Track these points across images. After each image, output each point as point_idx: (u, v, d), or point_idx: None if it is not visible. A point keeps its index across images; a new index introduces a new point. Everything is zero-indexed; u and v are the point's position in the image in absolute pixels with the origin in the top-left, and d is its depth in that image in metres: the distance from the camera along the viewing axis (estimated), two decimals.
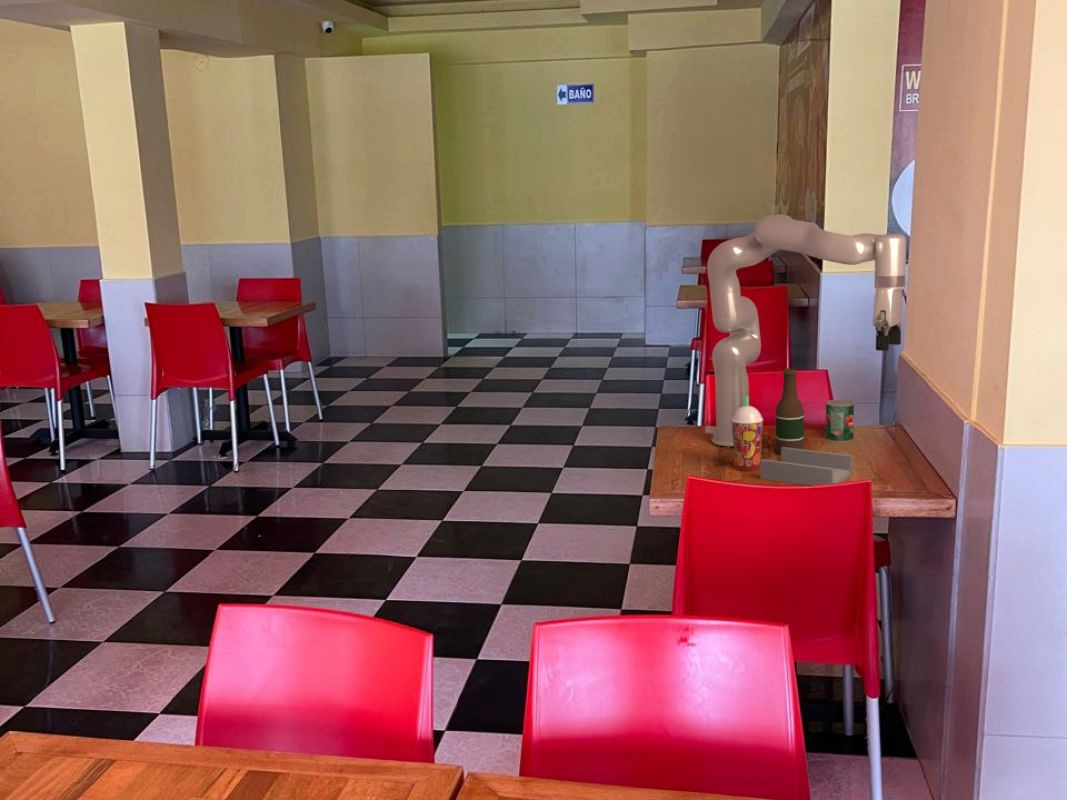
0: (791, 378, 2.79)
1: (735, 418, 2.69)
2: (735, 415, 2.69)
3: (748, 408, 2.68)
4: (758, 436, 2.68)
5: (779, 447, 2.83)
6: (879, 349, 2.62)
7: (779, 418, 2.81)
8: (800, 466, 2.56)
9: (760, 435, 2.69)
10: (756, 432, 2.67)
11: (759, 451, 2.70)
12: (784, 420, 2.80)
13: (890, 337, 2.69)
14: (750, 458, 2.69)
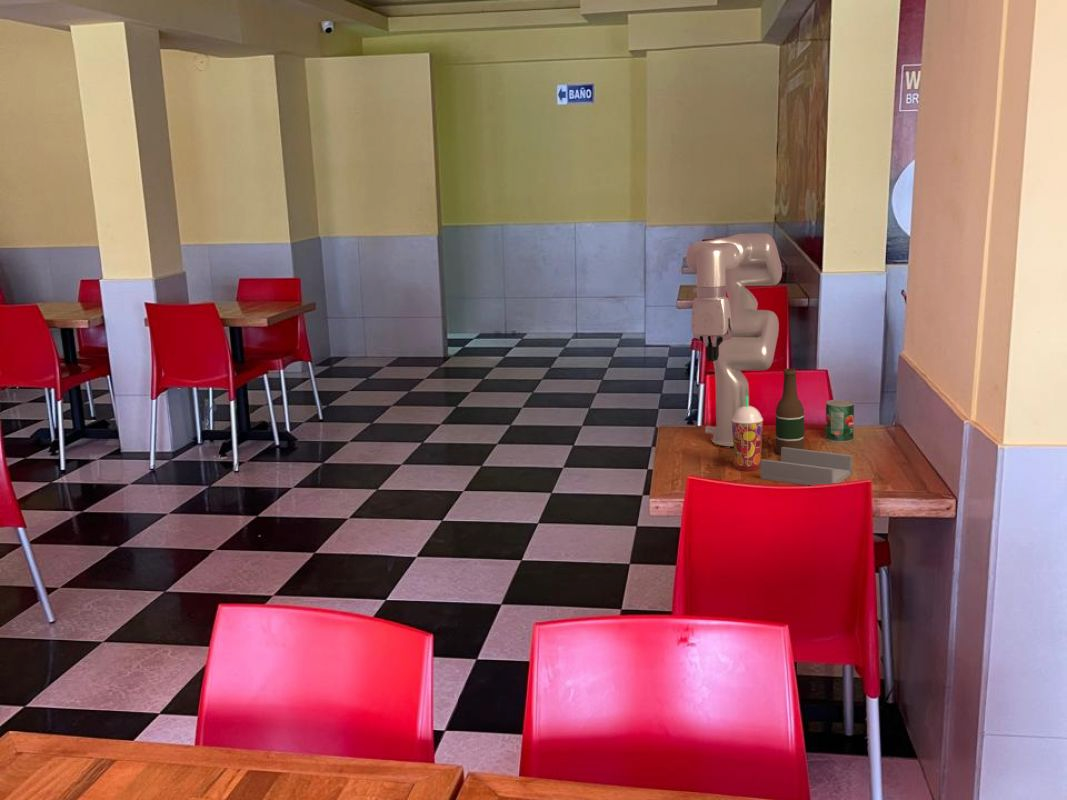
0: (791, 378, 2.79)
1: (735, 418, 2.69)
2: (735, 415, 2.69)
3: (748, 408, 2.68)
4: (758, 436, 2.68)
5: (779, 447, 2.83)
6: (714, 360, 2.72)
7: (779, 418, 2.81)
8: (800, 466, 2.56)
9: (760, 435, 2.69)
10: (756, 432, 2.67)
11: (759, 451, 2.70)
12: (784, 420, 2.80)
13: None
14: (750, 458, 2.69)
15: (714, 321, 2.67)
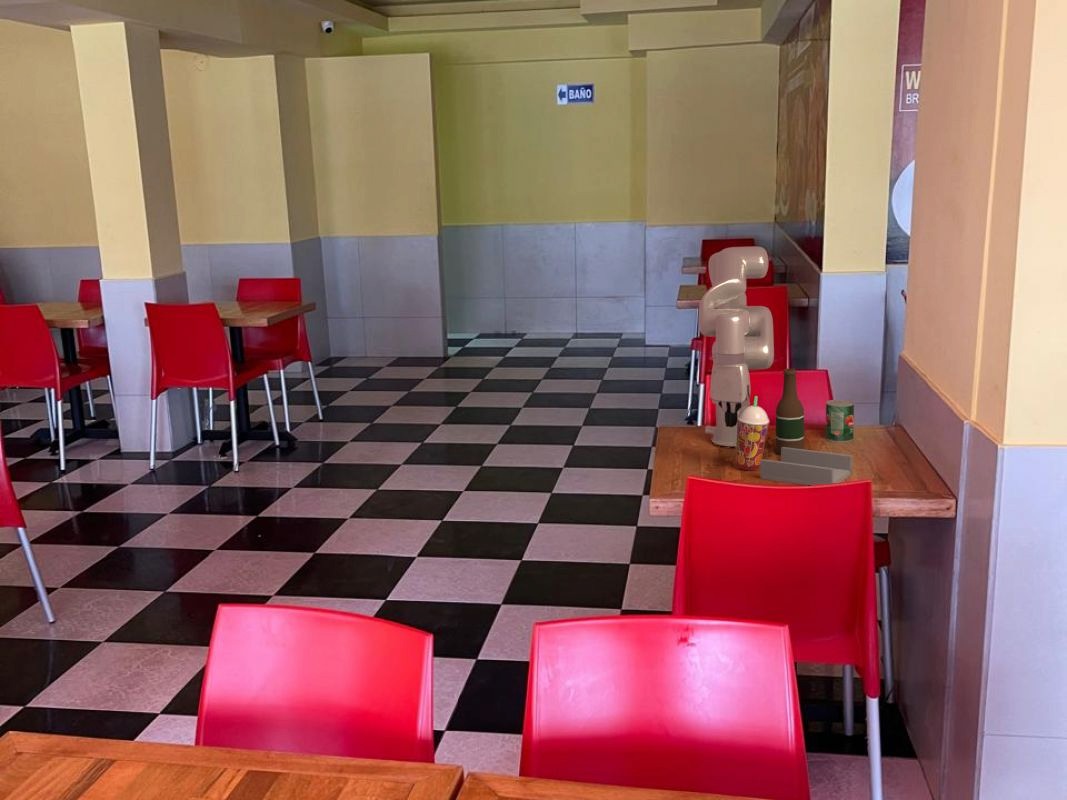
0: (791, 378, 2.79)
1: (742, 417, 2.67)
2: (742, 414, 2.67)
3: (756, 409, 2.66)
4: (762, 437, 2.67)
5: (779, 447, 2.83)
6: (732, 425, 2.72)
7: (779, 418, 2.81)
8: (800, 466, 2.56)
9: (764, 436, 2.68)
10: (761, 434, 2.66)
11: (762, 452, 2.69)
12: (784, 420, 2.80)
13: None
14: (752, 458, 2.68)
15: (733, 388, 2.67)
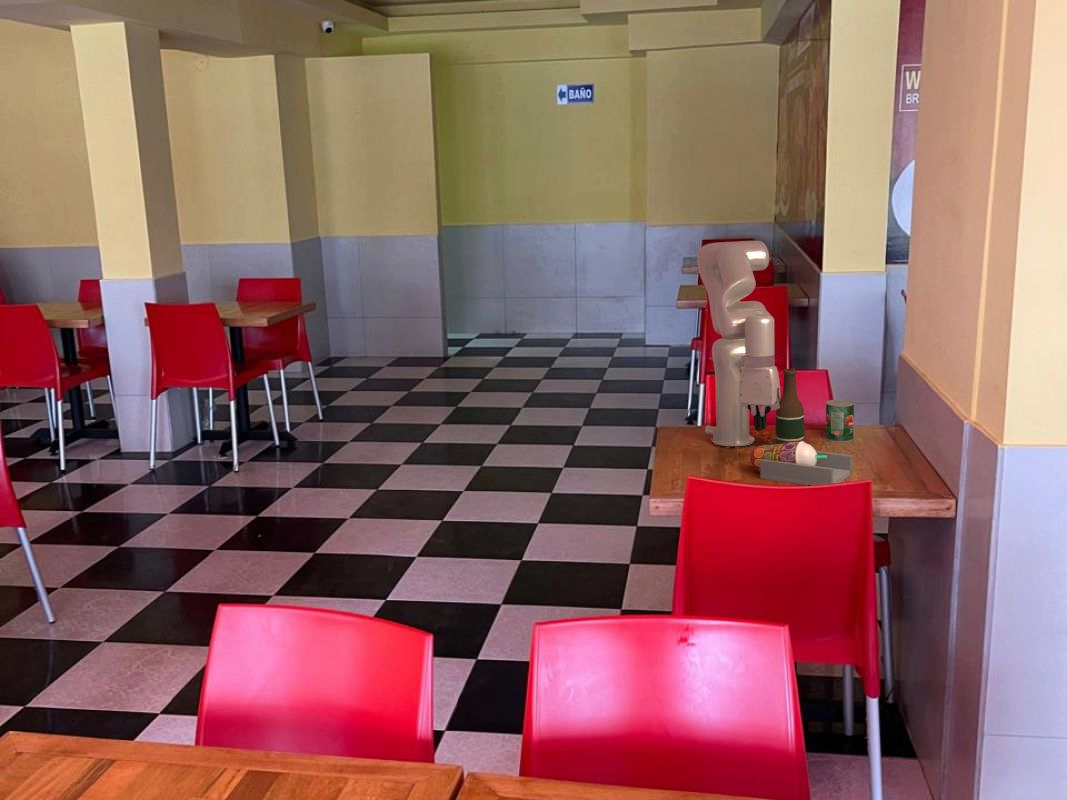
0: (791, 378, 2.79)
1: (799, 457, 2.58)
2: (802, 455, 2.58)
3: (814, 462, 2.59)
4: None
5: None
6: (761, 429, 2.67)
7: (779, 418, 2.81)
8: (800, 466, 2.56)
9: None
10: None
11: None
12: (784, 420, 2.80)
13: None
14: None
15: (763, 391, 2.62)
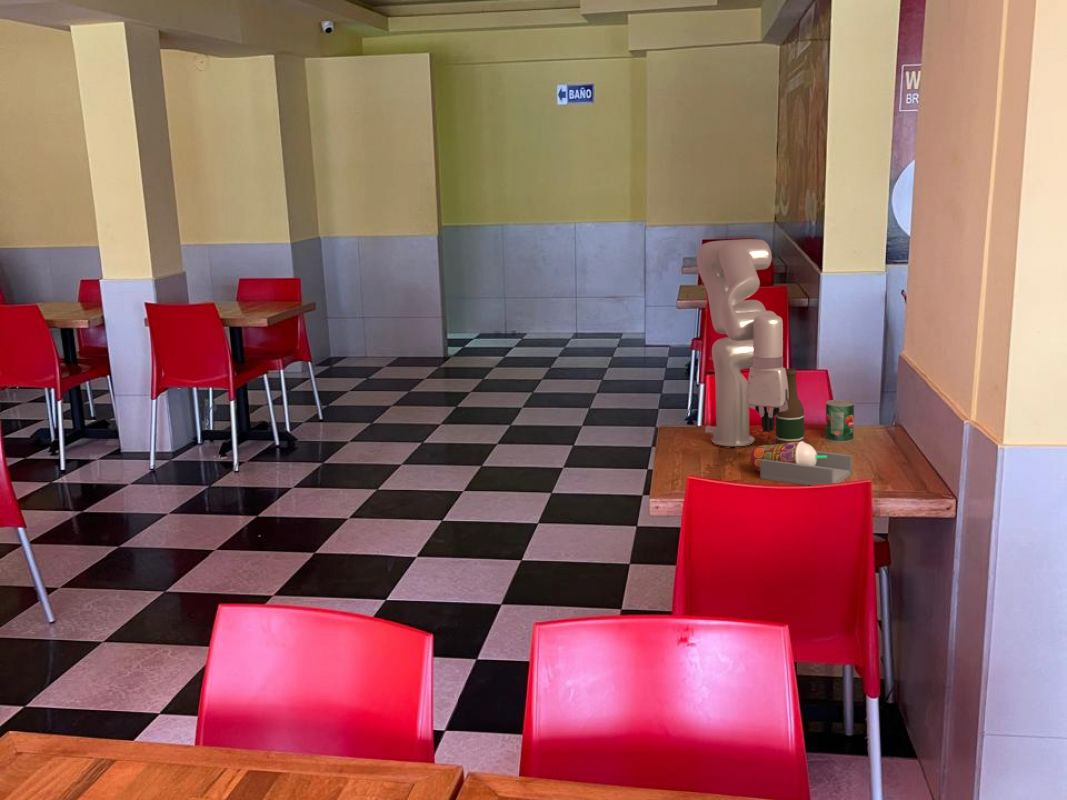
0: (791, 378, 2.79)
1: (799, 457, 2.58)
2: (802, 455, 2.58)
3: (814, 462, 2.59)
4: None
5: None
6: (770, 430, 2.66)
7: (779, 418, 2.81)
8: (800, 466, 2.56)
9: None
10: None
11: None
12: (784, 420, 2.80)
13: None
14: None
15: (771, 392, 2.61)
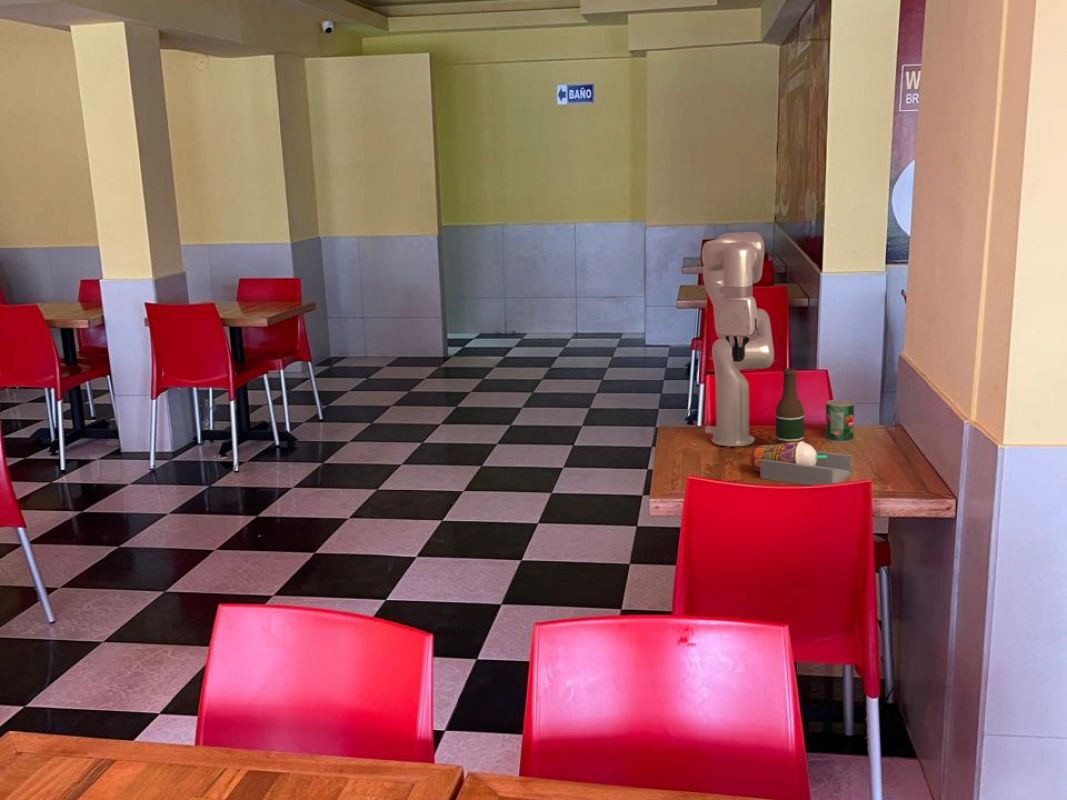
0: (791, 378, 2.79)
1: (799, 457, 2.58)
2: (802, 455, 2.58)
3: (814, 462, 2.59)
4: None
5: None
6: (740, 360, 2.70)
7: (779, 418, 2.81)
8: (800, 466, 2.56)
9: None
10: None
11: None
12: (784, 420, 2.80)
13: None
14: None
15: (740, 321, 2.65)
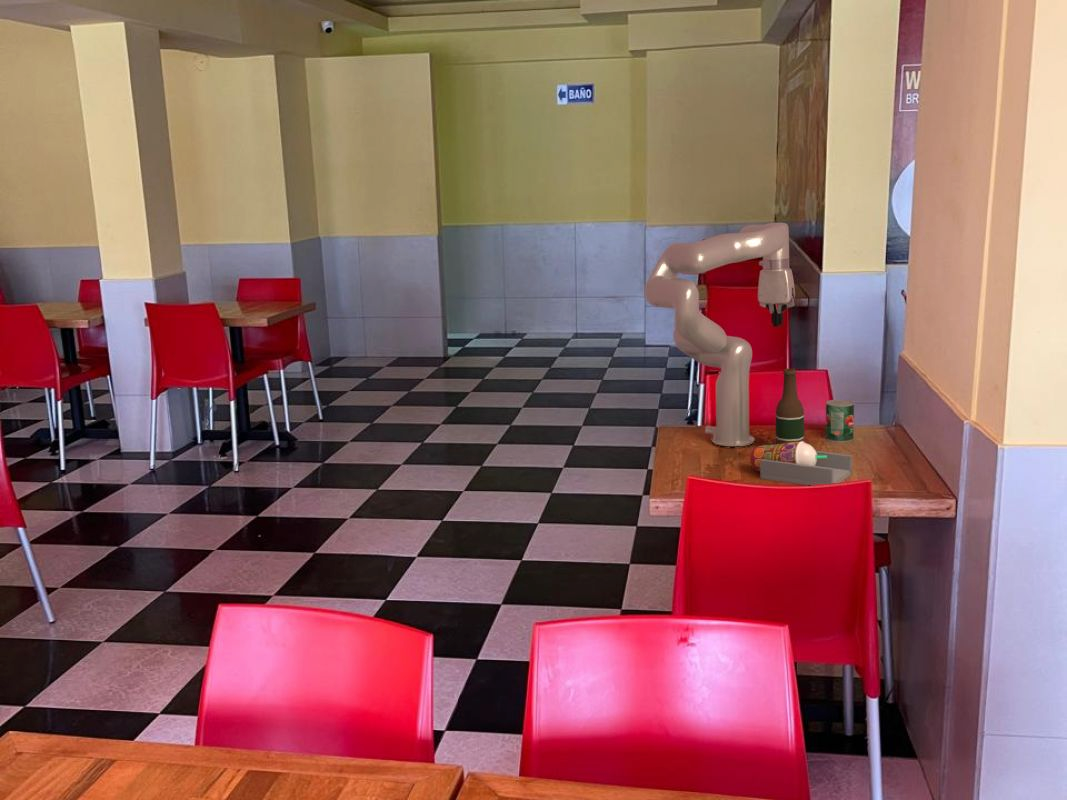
0: (791, 378, 2.79)
1: (799, 457, 2.58)
2: (802, 455, 2.58)
3: (814, 462, 2.59)
4: None
5: None
6: (779, 325, 3.02)
7: (779, 418, 2.81)
8: (800, 466, 2.56)
9: None
10: None
11: None
12: (784, 420, 2.80)
13: None
14: None
15: (779, 290, 2.97)
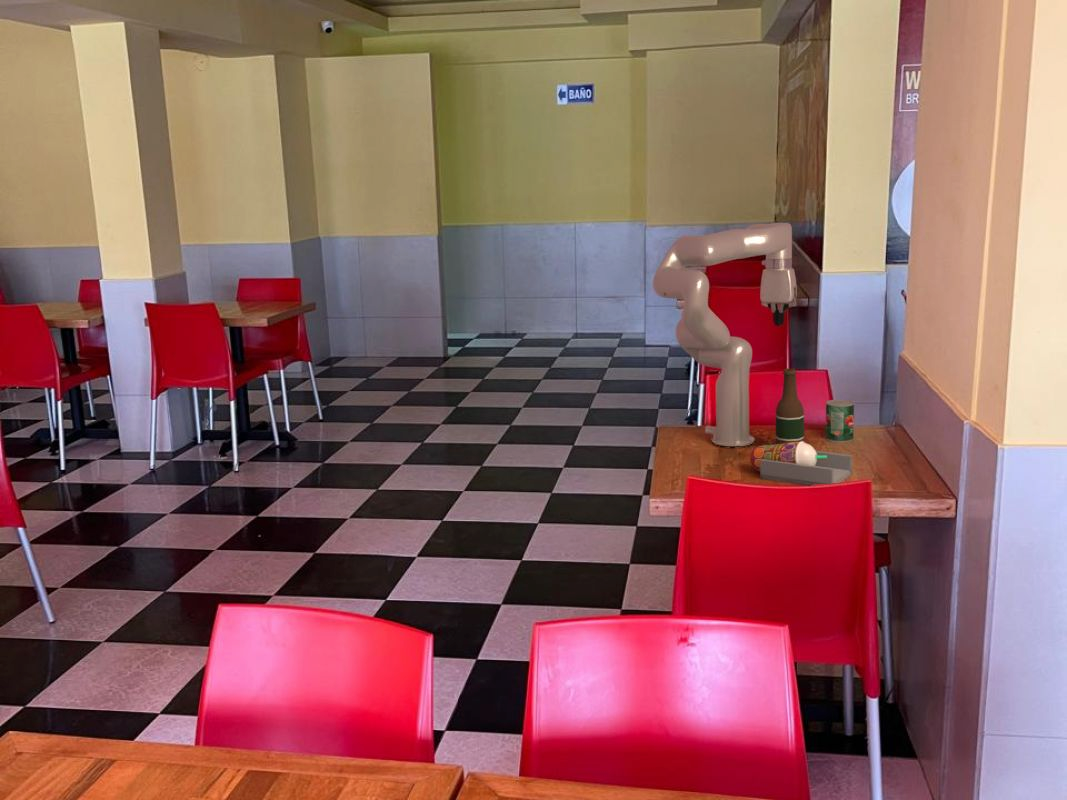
0: (791, 378, 2.79)
1: (799, 457, 2.58)
2: (802, 455, 2.58)
3: (814, 462, 2.59)
4: None
5: None
6: (780, 324, 3.05)
7: (779, 418, 2.81)
8: (800, 466, 2.56)
9: None
10: None
11: None
12: (784, 420, 2.80)
13: None
14: None
15: (782, 289, 3.00)
